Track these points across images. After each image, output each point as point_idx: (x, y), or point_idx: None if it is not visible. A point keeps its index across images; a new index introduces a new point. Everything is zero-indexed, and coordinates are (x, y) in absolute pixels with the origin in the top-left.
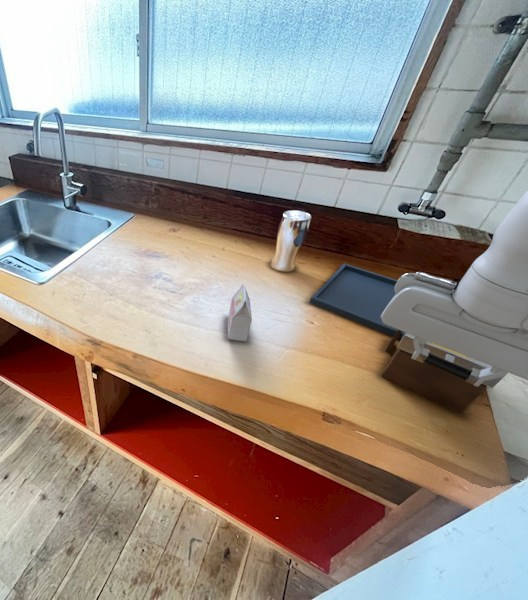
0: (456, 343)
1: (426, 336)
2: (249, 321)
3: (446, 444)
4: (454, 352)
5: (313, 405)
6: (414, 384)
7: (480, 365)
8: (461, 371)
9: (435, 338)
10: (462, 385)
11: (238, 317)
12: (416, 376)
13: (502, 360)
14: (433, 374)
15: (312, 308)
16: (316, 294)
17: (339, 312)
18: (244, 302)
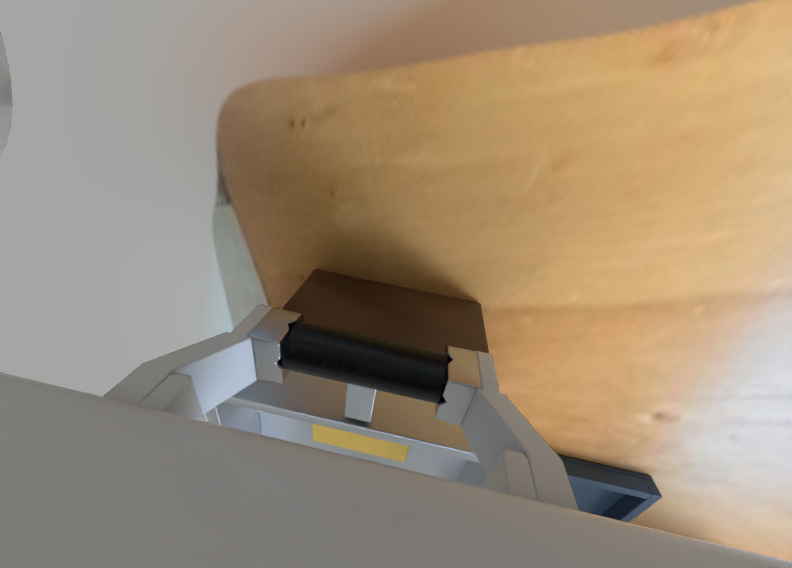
0: (358, 562)
1: (569, 555)
2: None
3: (326, 139)
4: (346, 431)
5: (765, 13)
6: (412, 302)
7: (268, 404)
8: (314, 348)
9: (504, 555)
10: None
11: None
12: (417, 321)
13: (49, 486)
14: (384, 337)
15: (644, 461)
16: (642, 507)
17: (575, 465)
18: None
